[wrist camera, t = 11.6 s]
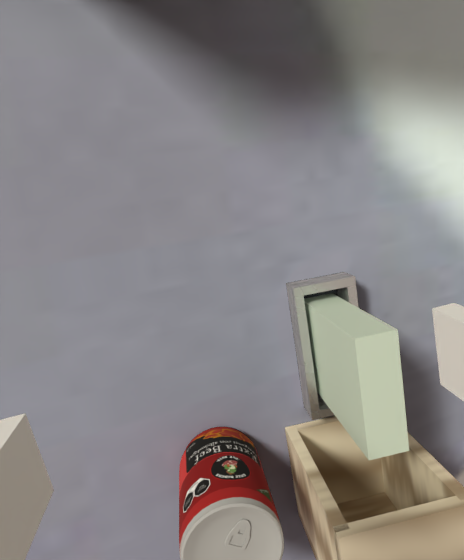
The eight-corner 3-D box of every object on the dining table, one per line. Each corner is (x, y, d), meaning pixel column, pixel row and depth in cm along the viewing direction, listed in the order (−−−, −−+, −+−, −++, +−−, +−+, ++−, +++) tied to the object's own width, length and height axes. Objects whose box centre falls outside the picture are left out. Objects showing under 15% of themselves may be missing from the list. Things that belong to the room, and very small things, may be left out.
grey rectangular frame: (285, 283, 38) (293, 288, 36) (343, 271, 39) (355, 276, 36) (303, 406, 41) (312, 420, 38) (357, 394, 41) (369, 407, 39)
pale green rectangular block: (301, 299, 39) (354, 338, 27) (340, 291, 39) (408, 327, 27) (313, 387, 40) (368, 460, 29) (350, 379, 41) (420, 448, 29)
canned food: (261, 424, 40) (291, 502, 30) (252, 497, 42) (278, 598, 31) (182, 422, 39) (183, 503, 29) (176, 498, 41) (175, 602, 30)
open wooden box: (284, 427, 41) (338, 538, 27) (380, 405, 42) (479, 501, 28) (298, 514, 43) (355, 659, 29) (389, 491, 44) (486, 621, 30)
